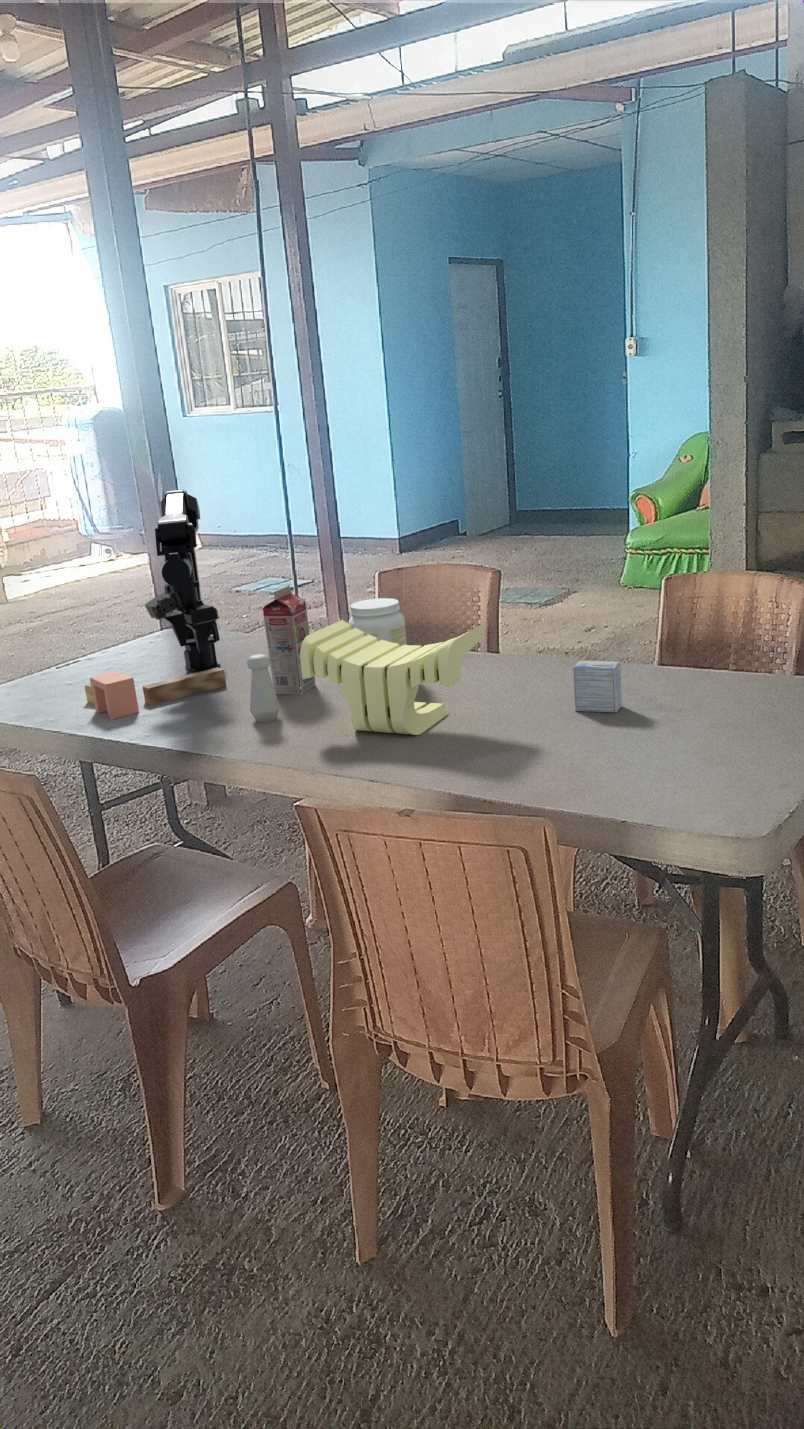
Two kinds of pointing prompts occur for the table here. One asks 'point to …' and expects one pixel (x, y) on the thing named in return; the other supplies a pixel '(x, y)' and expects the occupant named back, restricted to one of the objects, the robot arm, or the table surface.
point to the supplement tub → (379, 619)
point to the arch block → (114, 694)
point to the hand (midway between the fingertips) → (192, 649)
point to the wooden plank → (184, 686)
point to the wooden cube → (89, 693)
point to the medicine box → (597, 686)
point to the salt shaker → (262, 690)
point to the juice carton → (286, 641)
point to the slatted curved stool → (385, 675)
